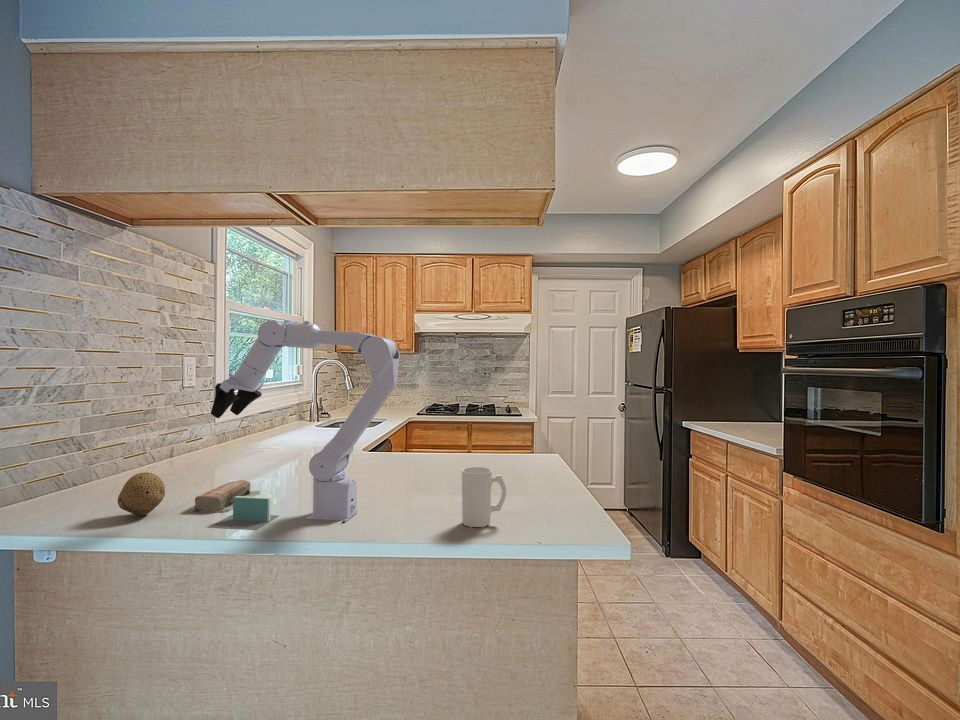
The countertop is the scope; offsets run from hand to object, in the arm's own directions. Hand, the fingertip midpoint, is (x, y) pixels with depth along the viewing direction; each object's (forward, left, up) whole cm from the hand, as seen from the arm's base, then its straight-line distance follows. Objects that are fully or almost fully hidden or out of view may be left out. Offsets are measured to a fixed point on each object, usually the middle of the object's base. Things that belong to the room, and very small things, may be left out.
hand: (224, 414), depth 124 cm
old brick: (+4, -7, -24) cm, 25 cm away
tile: (-10, +6, -23) cm, 26 cm away
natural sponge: (+17, +5, -23) cm, 29 cm away
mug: (-61, -1, -23) cm, 66 cm away
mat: (-9, +7, -23) cm, 26 cm away
